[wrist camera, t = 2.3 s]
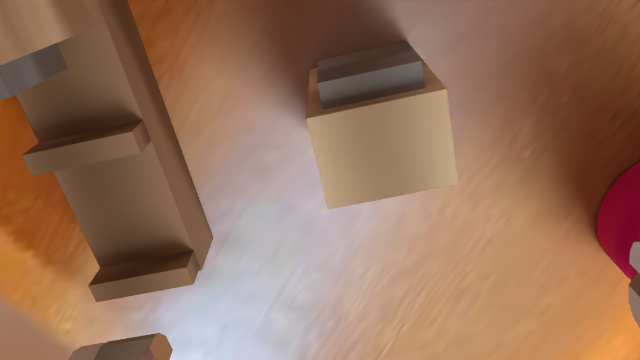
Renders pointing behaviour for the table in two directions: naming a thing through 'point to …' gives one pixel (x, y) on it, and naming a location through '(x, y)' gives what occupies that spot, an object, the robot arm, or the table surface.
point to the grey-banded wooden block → (379, 126)
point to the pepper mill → (621, 219)
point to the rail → (105, 140)
